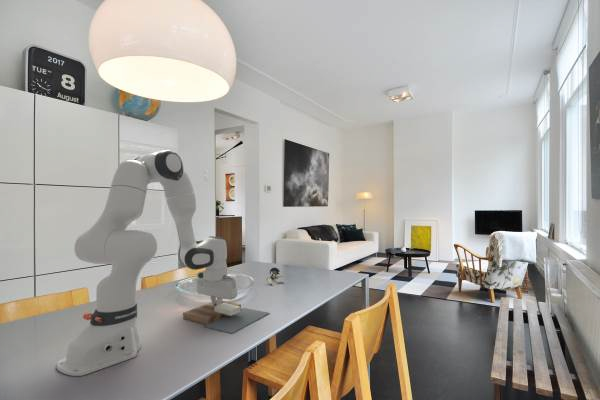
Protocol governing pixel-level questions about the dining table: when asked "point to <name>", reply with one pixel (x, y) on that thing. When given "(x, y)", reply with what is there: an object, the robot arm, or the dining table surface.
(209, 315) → the wooden board
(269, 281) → the artificial flower
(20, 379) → the dining table surface
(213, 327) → the mat
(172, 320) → the dining table surface
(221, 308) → the white flat block
